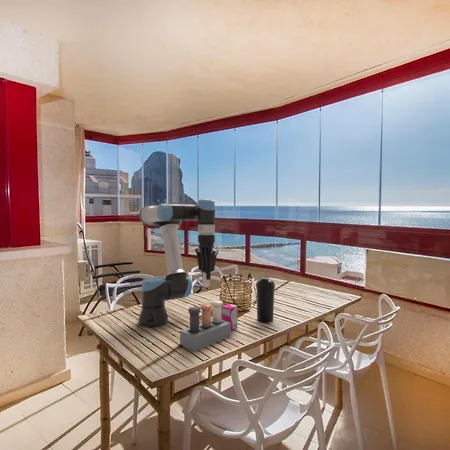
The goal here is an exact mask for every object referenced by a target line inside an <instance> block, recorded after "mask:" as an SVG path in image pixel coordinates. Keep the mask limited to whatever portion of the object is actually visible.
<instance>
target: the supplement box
mask: <svg viewBox="0 0 450 450" xmlns="http://www.w3.org/2000/svg"><path fill="white" fill-rule="evenodd" d="M221 320H224V321H226V322H229V323H231V332H234V330H235V331H236V330H237V329H238V305H235V304H231V303H226V304H224V305H222V306H221Z"/></svg>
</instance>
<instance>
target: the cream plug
mask: <svg viewBox="0 0 450 450" xmlns="http://www.w3.org/2000/svg"><path fill="white" fill-rule="evenodd" d="M211 305H212V319H213V322H214V323H220V322H221V320H222V306H224V305H223V301H222V300H212V301H211Z"/></svg>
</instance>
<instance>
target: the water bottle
mask: <svg viewBox="0 0 450 450" xmlns="http://www.w3.org/2000/svg"><path fill="white" fill-rule="evenodd" d="M255 288H256V317H257V318H256V319H257V321H258V322H259V323H262V324H268V323H269V324H271V323H272V322H274V311H275V309H274V304H275V288H276V284H275V282H274V280H272V279H271V276H265V275H263V276H261V279H258V280H257V281H256V282H255Z"/></svg>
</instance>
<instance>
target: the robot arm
mask: <svg viewBox="0 0 450 450" xmlns="http://www.w3.org/2000/svg"><path fill="white" fill-rule="evenodd" d="M138 215H139V216H138V217H139V220H140V221H141V222H142V223H143V224H146V225H147V226H152V227H153V226H158V229H159V231H160V232H162V234H161V235H162V241H163V246H164V247H163V248H164V254H165V262H166V270H167V273H166V274H165V277H164V275H155V276H149V277H147V278H145V279H144V280H142V282H141V289H140V290H141V311H140V313H139V316H138V325H139V326H140V327H144V328H155V327H161V326H164V325H166V324H167V323H169V315H168V313H167V310H166V307H165V306H166V304H165V303H166V301H172V300H177V299H179V300H180V299H184V298H187V297H189V296H191V293H192V288H193V281H192V277H191V276H190V275H187V271H185V270H184V267H183V266H184V265H183V261H182V260H183V259H182V254H181V248H180V241H179V239H180V238H179V235H178V233H179V232H178V229H179V228H180V225H181V224H182V222H183V221H194V222H195V221H197V233H198V234H197V243H198V244H199V245H198V247H197V248H195V249H194V251H195V255H196V259H197V267H198V271H201V279H202V287H203V288H209V287H211V286H210V285H211V282H210V281H211V274H212V272H214V271H215V267H216V261H217V255H218V254H219V250H216V249H215V246H214V245H215V244H214V243H216V241H215V240H216V239H215V238H216V236H215V233H216V231H215V230H216V228H215V225H216V224H215V223H216V204H215V200H214V199H206V198H205V199H198V201H197V204H186V203H185V204H182V203H181V204H179V203H178V204H175V203H173V204H172V203H161V204H158V205H154V204H153V205H152V204H151V205H147V206H144V207H142V208H141V209H140V211H139V214H138Z"/></svg>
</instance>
